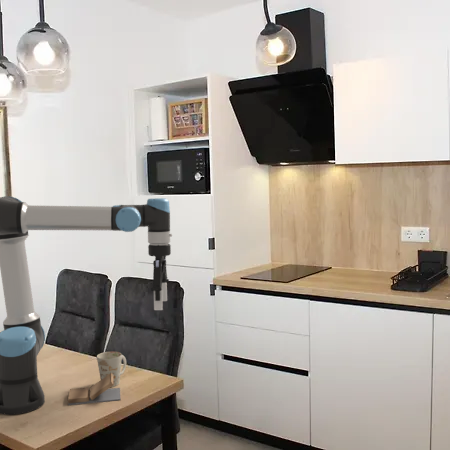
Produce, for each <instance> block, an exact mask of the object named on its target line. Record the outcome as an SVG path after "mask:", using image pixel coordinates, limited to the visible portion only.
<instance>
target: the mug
mask: <svg viewBox="0 0 450 450" xmlns="http://www.w3.org/2000/svg"><path fill="white" fill-rule="evenodd" d="M96 360H97V367H98V373H99V378H100V380H102V379H103V378H104V377H106V376H107V375H109V374H110V373H112V374H113V382H114V385H113V386H112V387H116V386H118V385H119V384H120V383H121V380H120V379H121V376H122V375H123V374H124V373H125V372H126V371H125V370H126V368H127V359H126V357H125V356H124V355H123V354H122V353H121V352H119V351H105V352H101V353H98V354H97V355H96ZM122 362H123V366H122ZM112 387H111V388H112Z"/></svg>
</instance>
